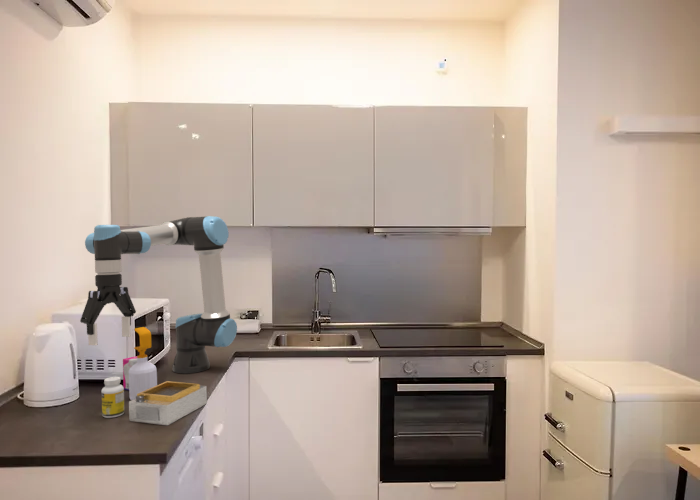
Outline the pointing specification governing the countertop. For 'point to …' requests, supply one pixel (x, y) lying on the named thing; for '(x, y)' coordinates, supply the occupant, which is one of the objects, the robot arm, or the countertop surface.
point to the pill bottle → (112, 398)
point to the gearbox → (167, 402)
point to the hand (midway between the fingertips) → (110, 340)
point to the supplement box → (127, 370)
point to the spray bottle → (142, 367)
